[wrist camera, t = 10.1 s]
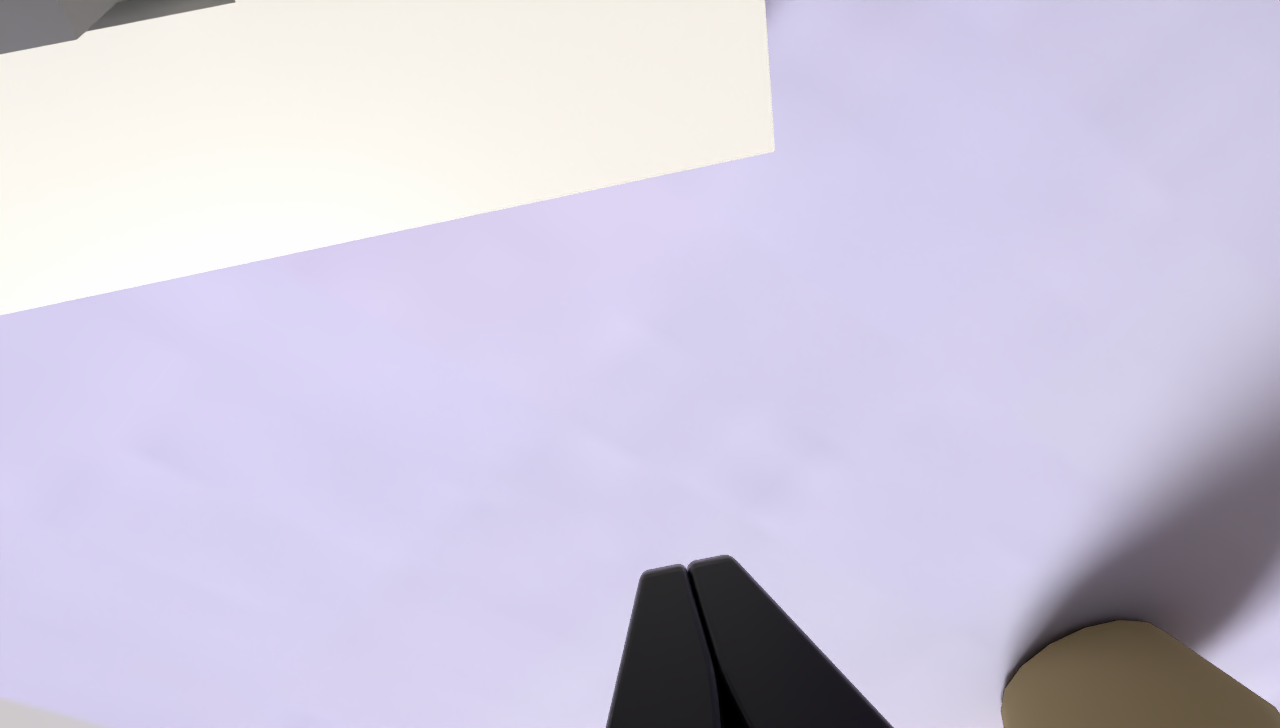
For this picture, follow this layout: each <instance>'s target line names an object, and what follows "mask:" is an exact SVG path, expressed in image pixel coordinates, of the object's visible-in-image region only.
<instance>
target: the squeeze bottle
mask: <svg viewBox="0 0 1280 728" xmlns="http://www.w3.org/2000/svg"><path fill="white" fill-rule="evenodd" d="M1001 715H1002V720H1003V726H1004V728H1280V713H1279V712H1278V710H1277V709H1276V707H1274V706H1273V705H1271V704H1270V703H1268V702H1267V701H1266V700H1264V699H1263V698H1261V697H1260V696H1258V695H1257V694H1255V693H1254V692H1252V691H1251V690H1249V689H1248V688H1247V687H1245V686H1244V685H1242V684H1241V683H1239V682H1238V681H1236V680H1235V679H1233V678H1232V677H1231V676H1229V675H1228V674H1226V673H1225V672H1223V671H1222V670H1220V669H1219V668H1217V667H1216V666H1214V665H1213V664H1212V663H1210V662H1209V661H1207V660H1206V659H1204V658H1203V657H1201V656H1200V655H1198V654H1197V653H1195V652H1194V651H1193V650H1191V649H1190V648H1188V647H1187V646H1185V645H1184V644H1182V643H1181V642H1179V641H1178V640H1177V639H1175V638H1174V637H1172V636H1171V635H1169V634H1168V633H1166V632H1164V631H1163V630H1161V629H1159V628H1158V627H1156V626H1154V625H1153V624H1151V623H1149V622H1139V621H1124V620H1118V621H1113V622H1109V623H1104V624H1100V625H1095V626H1091V627H1086V628H1083V629H1081V630H1079V631H1077V632H1075V633H1072V634H1070V635H1068V636H1066V637H1064V638H1062V639H1060V640H1058V641H1055V642H1053V643H1051V644H1049V645H1048V646H1047V647H1045V648H1044V649H1043V650H1042V651H1040V652H1039V653H1038V654H1036V655H1035V656H1034V657H1033V658H1031V659H1030V660H1029V661H1027V662H1026V663H1025V664H1024V665H1022V666H1021V668H1020V669H1019V670H1018V672H1017V673H1016V674H1015V676H1014V677H1013V679H1012V680H1011V681H1010V683H1009V684H1008V685H1007V687H1006V688H1005V690H1004V695H1003V701H1002V706H1001Z"/></svg>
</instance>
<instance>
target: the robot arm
mask: <svg viewBox="0 0 1280 728" xmlns="http://www.w3.org/2000/svg"><path fill="white" fill-rule="evenodd" d="M606 728H893V727H892V725H891V724H890V723H889V722H888V721H887V720H886V719H885V718H884V717H883V716H882V715H881V714H880V713H879V712H878V711H877V709H876V708H875V707H874V706H873V705H872V704H871V703H870V702H869V701H868V700H867V699H866V698H865V697H864V696H863V695H862V694H861V692H860V691H859V690H858V689H857V688H856V687H855V686H854V685H853V684H852V683H851V682H850V681H849V680H848V679H847V678H846V677H845V675H844V674H843V673H842V672H841V671H840V670H839V669H838V668H837V667H836V666H835V665H834V664H833V663H832V662H831V661H830V659H829V658H828V657H827V656H826V655H825V654H824V653H823V652H822V651H821V650H820V649H819V648H818V647H817V646H816V645H815V644H814V642H813V641H812V640H811V639H810V638H809V637H808V636H807V635H806V634H805V633H804V632H803V631H802V630H801V629H800V628H799V627H798V625H797V624H796V623H795V622H794V621H793V620H792V619H791V618H790V617H789V616H788V615H787V614H786V613H785V612H784V611H783V609H782V608H781V607H780V606H779V605H778V604H777V603H776V602H775V601H774V600H773V599H772V598H771V597H770V596H769V595H768V594H767V592H766V591H765V590H764V589H763V588H762V587H761V586H760V585H759V584H758V583H757V582H756V581H755V580H754V579H753V578H752V577H751V575H750V574H749V573H748V572H747V571H746V570H745V569H744V568H743V567H742V566H741V565H740V564H739V563H738V562H737V561H736V560H735V559H734V558H733V557H731V556H729V555H720V556H715V557H710V558H705V559H700V560H695V561H692V562H691V563H690V564H689V565H688V567H687V569H686V568H685V567H684V566H683V565H681V564H675V565H670V566H665V567H660V568H655V569H650V570H647V571H645V572H643V573H642V575H641V577H640V580H639V584H638V588H637V592H636V597H635V601H634V606H633V610H632V614H631V619H630V623H629V628H628V632H627V637H626V641H625V645H624V650H623V654H622V659H621V663H620V667H619V672H618V676H617V681H616V685H615V690H614V694H613V698H612V703H611V707H610V712H609V716H608V720H607V725H606Z"/></svg>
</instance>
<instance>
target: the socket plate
mask: <svg viewBox="0 0 1280 728" xmlns="http://www.w3.org/2000/svg"><path fill="white" fill-rule="evenodd" d="M770 152H775V147H774V131H773V116H772V101H771V86H770V70H769V55H768V40H767V24H766V9H765V0H119V1H118V2H117V3H116V4H115V5H114V6H113V7H112V8H111V9H109V10H108V11H107V12H106V13H105V14H104V15H103V16H102V17H101V18H100V19H99V20H98V21H97V22H95V23H94V24H93V25H92V26H91V27H90V28H89V29H88V30H87V31H86V32H85V33H84V34H82V35H81V36H80V37H79V38H78V39H77V40H72V41H67V42H62V43H57V44H52V45H46V46H41V47H36V48H31V49H26V50H21V51H15V52H10V53H5V54H0V315H3V314H8V313H13V312H17V311H22V310H27V309H32V308H36V307H41V306H46V305H51V304H55V303H60V302H65V301H70V300H74V299H79V298H84V297H88V296H93V295H98V294H103V293H107V292H112V291H117V290H122V289H126V288H131V287H136V286H141V285H145V284H150V283H155V282H160V281H164V280H169V279H174V278H178V277H183V276H188V275H193V274H197V273H202V272H207V271H212V270H216V269H221V268H226V267H231V266H235V265H240V264H245V263H249V262H254V261H259V260H264V259H268V258H273V257H278V256H283V255H287V254H292V253H297V252H302V251H306V250H311V249H316V248H321V247H325V246H330V245H335V244H339V243H344V242H349V241H354V240H358V239H363V238H368V237H373V236H377V235H382V234H387V233H392V232H396V231H401V230H406V229H410V228H415V227H420V226H425V225H429V224H434V223H439V222H444V221H448V220H453V219H458V218H463V217H467V216H472V215H477V214H482V213H486V212H491V211H496V210H500V209H505V208H510V207H515V206H519V205H524V204H529V203H534V202H538V201H543V200H548V199H553V198H557V197H562V196H567V195H571V194H576V193H581V192H586V191H590V190H595V189H600V188H605V187H609V186H614V185H619V184H624V183H628V182H633V181H638V180H643V179H647V178H652V177H657V176H661V175H666V174H671V173H676V172H680V171H685V170H690V169H695V168H699V167H704V166H709V165H714V164H718V163H723V162H728V161H732V160H737V159H742V158H747V157H751V156H756V155H761V154H766V153H770Z"/></svg>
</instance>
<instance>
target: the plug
mask: <svg viewBox="0 0 1280 728" xmlns="http://www.w3.org/2000/svg"><path fill="white" fill-rule="evenodd" d="M118 1H119V0H0V54H5V53H10V52H15V51H21V50H26V49H31V48H36V47H41V46H46V45H52V44H57V43H62V42H67V41H72V40H77V39H78V38H79V37H80V36H81V35H82V34H84V33H85V32H86V31H87V30H88V29H89V28H90V27H91V26H92V25H93V24H94V23H95V22H97V21H98V20H99V19H100V18H101V17H102V16H103V15H104V14H105V13H106V12H107V11H108V10H109V9H111V8H112V7H113V6H114V5H115V4H116V3H117V2H118Z"/></svg>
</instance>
